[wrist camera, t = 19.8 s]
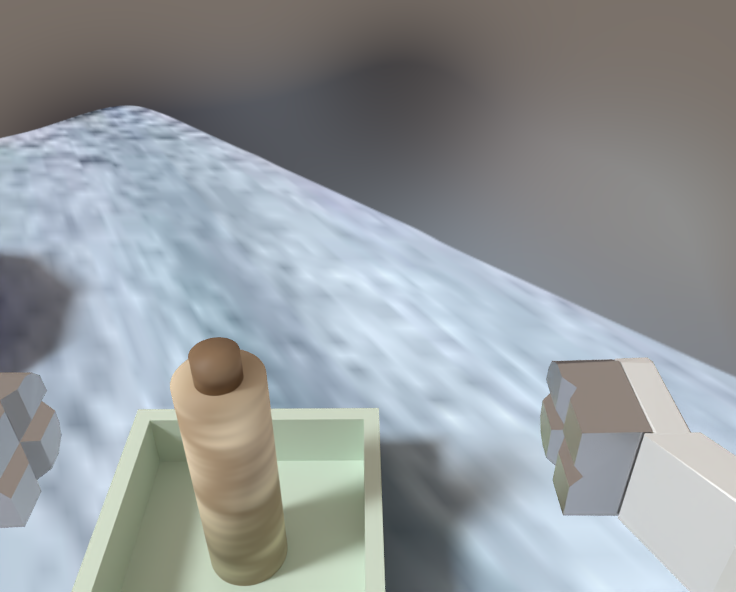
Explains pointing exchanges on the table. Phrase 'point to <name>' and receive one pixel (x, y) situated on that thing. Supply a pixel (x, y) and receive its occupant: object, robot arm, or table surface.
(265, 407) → the pepper mill
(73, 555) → the table surface
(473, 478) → the table surface
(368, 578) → the bin
